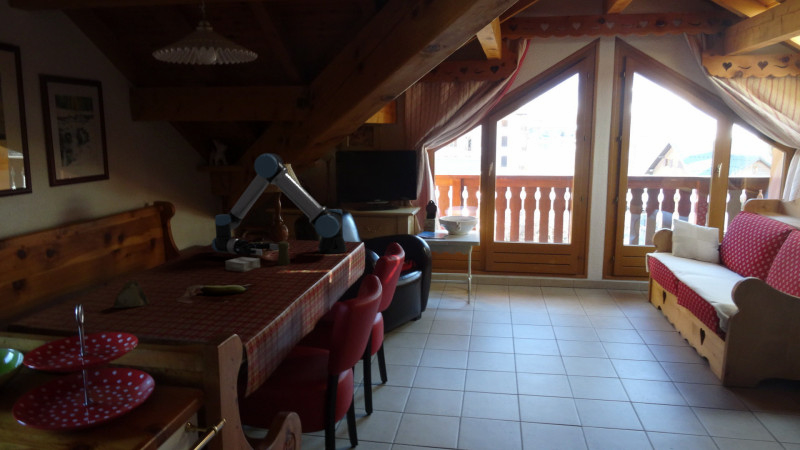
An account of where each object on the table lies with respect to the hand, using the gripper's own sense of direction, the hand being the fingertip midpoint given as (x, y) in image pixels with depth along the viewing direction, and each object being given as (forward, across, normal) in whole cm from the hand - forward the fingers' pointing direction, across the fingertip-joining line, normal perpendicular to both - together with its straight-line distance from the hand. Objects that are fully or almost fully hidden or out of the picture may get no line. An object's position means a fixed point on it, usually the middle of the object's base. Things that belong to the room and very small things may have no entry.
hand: (271, 249), depth 265 cm
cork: (+7, 0, -7) cm, 10 cm away
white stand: (-4, +15, -6) cm, 17 cm away
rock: (+1, +79, -7) cm, 79 cm away
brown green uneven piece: (+19, +51, -7) cm, 55 cm away
